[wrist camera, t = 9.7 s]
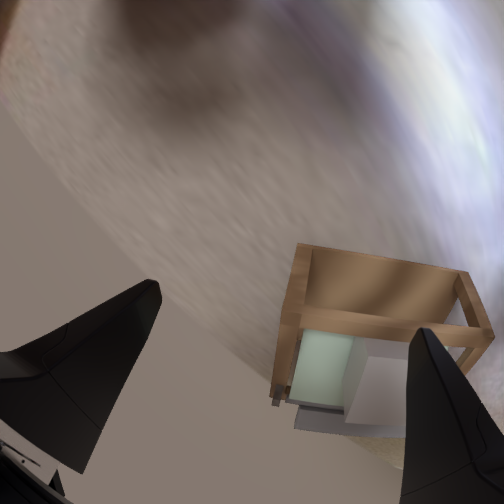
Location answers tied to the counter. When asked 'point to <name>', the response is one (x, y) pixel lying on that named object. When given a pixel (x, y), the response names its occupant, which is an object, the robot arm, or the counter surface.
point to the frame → (375, 305)
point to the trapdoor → (328, 388)
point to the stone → (376, 382)
